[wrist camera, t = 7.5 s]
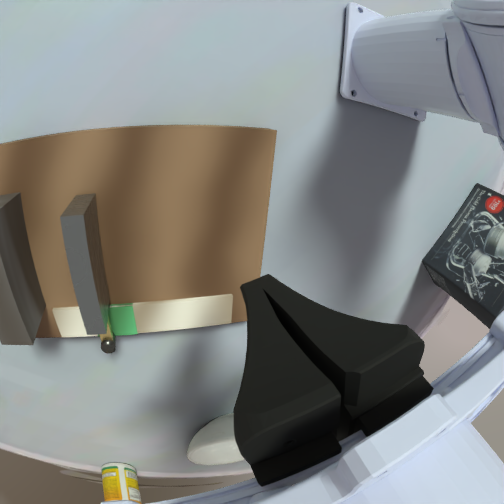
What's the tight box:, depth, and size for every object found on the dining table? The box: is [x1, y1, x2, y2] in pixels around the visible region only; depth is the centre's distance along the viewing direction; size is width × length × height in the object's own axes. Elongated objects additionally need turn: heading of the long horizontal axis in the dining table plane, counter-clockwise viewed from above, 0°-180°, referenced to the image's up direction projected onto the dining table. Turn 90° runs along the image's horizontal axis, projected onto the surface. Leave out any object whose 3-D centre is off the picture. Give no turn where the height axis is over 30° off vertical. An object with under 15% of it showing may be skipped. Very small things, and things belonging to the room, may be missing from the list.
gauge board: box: [0, 125, 277, 345], centre depth 16 cm, size 18×14×6 cm
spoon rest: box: [187, 413, 245, 465], centre depth 28 cm, size 24×12×7 cm, turn 157°
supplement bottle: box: [102, 463, 141, 504], centre depth 27 cm, size 5×5×10 cm
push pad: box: [60, 193, 116, 353], centre depth 15 cm, size 1×10×4 cm, turn 175°
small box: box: [423, 183, 504, 329], centre depth 26 cm, size 13×7×12 cm, turn 137°
